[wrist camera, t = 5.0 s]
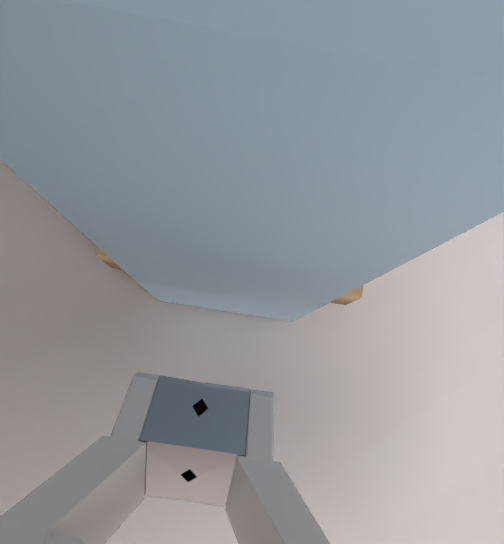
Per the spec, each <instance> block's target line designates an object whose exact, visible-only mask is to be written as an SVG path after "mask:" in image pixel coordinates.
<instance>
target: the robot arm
mask: <svg viewBox="0 0 504 544" xmlns="http://www.w3.org/2000/svg"><path fill="white" fill-rule="evenodd" d="M273 442H274V395H273V393H272V392H265V391H258V390H252V389H247V388H240V387H233V386H226V385H218V384H211V383H200V382H195V381H189V380H183V379H178V378H172V377H167V376H161V375H154V374H148V373H142V372H137V373H136V374H135V375H134V377H133V379H132V381H131V384H130V386H129V389H128V392H127V394H126V397H125V399H124V402H123V405H122V407H121V410H120V413H119V415H118V418H117V420H116V423H115V426H114V428H113V431H112V433H111V436H110V437H106V436H102V437H101V438H100V439H99V440H97V441H96V442H95V443H93V444H92V445H91V446H90V447H88V448H87V449H86V450H85V451H83V452H82V453H81V454H80V455H78V456H77V457H76V458H74V459H73V460H72V461H71V462H69V463H68V464H67V465H66V466H64V467H63V468H62V469H60V470H59V471H58V472H57V473H55V474H54V475H53V476H52V477H50V478H49V479H48V480H46V481H45V482H44V483H43V484H41V485H40V486H39V487H38V488H36V489H35V490H34V491H32V492H31V493H30V494H29V495H27V496H26V497H25V498H24V499H22V500H21V501H20V502H18V503H17V504H16V505H15V506H13V507H12V508H11V509H10V510H8V511H7V512H6V513H4V514H3V515H2V516H1V517H0V544H105V542H106V541H107V540H108V539H109V538H110V537H111V536H112V535H113V533H114V532H115V531H116V530H117V529H118V528H119V527H120V526H121V524H122V523H123V522H124V521H125V520H126V519H127V518H128V517H129V515H130V514H131V513H132V512H133V511H134V510H135V509H136V508H137V506H138V505H139V504H140V503H141V502H142V501H143V500H144V496H149V497H158V498H167V499H176V500H186V501H191V502H197V503H203V504H208V505H214V506H220V507H226V509H225V510H226V513H227V515H228V518H229V520H230V523H231V525H232V528H233V530H234V533H235V535H236V538H237V540H238V543H239V544H330V543H329V541H328V539H327V538H326V536H325V535H324V533H323V531H322V530H321V528H320V526H319V525H318V523H317V521H316V520H315V518H314V517H313V515H312V513H311V512H310V510H309V508H308V507H307V505H306V503H305V502H304V500H303V499H302V497H301V495H300V494H299V492H298V490H297V489H296V487H295V485H294V484H293V482H292V481H291V479H290V477H289V476H288V474H287V472H286V471H285V469H284V467H283V466H282V464H281V462H277V461H273Z"/></svg>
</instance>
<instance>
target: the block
mask: <svg viewBox="0 0 504 544" xmlns="http://www.w3.org/2000/svg"><path fill="white" fill-rule="evenodd" d="M0 160H1V161H2V162H3V163H4V164H5V165H6V166H8V167H9V168H10V169H11V170H12V171H13V172H14V173H15V174H17V175H18V176H19V177H20V178H21V179H22V180H23V181H24V182H25V183H27V184H28V185H29V186H30V187H31V188H32V189H33V190H34V191H36V192H37V193H38V194H39V195H40V196H41V197H42V198H43V199H44V200H46V201H47V202H48V203H49V204H50V205H51V206H52V207H53V208H55V209H56V210H57V211H58V212H59V213H60V214H61V215H62V216H63V217H65V218H66V219H67V220H68V221H69V222H70V223H71V224H72V225H74V226H75V227H76V228H77V229H78V230H79V231H80V232H81V233H83V234H84V235H85V236H86V237H87V238H88V239H89V240H90V241H91V242H93V243H94V244H95V245H96V246H97V247H98V248H99V249H100V250H102V251H103V252H104V253H105V254H106V255H107V256H108V257H109V258H110V259H112V260H113V261H114V262H115V263H116V264H117V265H118V266H119V267H121V268H122V269H123V270H124V271H125V272H126V273H127V274H128V275H129V276H131V277H132V278H133V279H134V280H135V281H136V282H137V283H138V284H140V285H141V286H142V287H143V288H144V289H145V290H146V291H147V292H148V293H150V294H151V295H152V296H153V297H154V298H155V299H156V300H157V301H163V302H169V303H176V304H182V305H188V306H195V307H201V308H207V309H214V310H220V311H226V312H233V313H239V314H245V315H252V316H258V317H264V318H270V319H277V320H283V321H289V322H293V321H295V320H297V319H298V318H300V317H302V316H304V315H306V314H308V313H310V312H312V311H314V310H316V309H318V308H320V307H321V306H323V305H325V304H327V303H329V302H331V301H333V300H335V299H337V298H339V297H341V296H343V295H345V294H346V293H348V292H350V291H352V290H354V289H356V288H358V287H360V286H362V285H364V284H366V283H368V282H370V281H371V280H373V279H375V278H377V277H379V276H381V275H383V274H385V273H387V272H389V271H391V270H393V269H394V268H396V267H398V266H400V265H402V264H404V263H406V262H408V261H410V260H412V259H414V258H416V257H418V256H419V255H421V254H423V253H425V252H427V251H429V250H431V249H433V248H435V247H437V246H439V245H441V244H442V243H444V242H446V241H448V240H450V239H452V238H454V237H456V236H458V235H460V234H462V233H464V232H466V231H467V230H469V229H471V228H473V227H475V226H477V225H479V224H481V223H483V222H485V221H487V220H489V219H490V218H492V217H494V216H496V215H498V214H500V213H502V212H504V0H0Z"/></svg>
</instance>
